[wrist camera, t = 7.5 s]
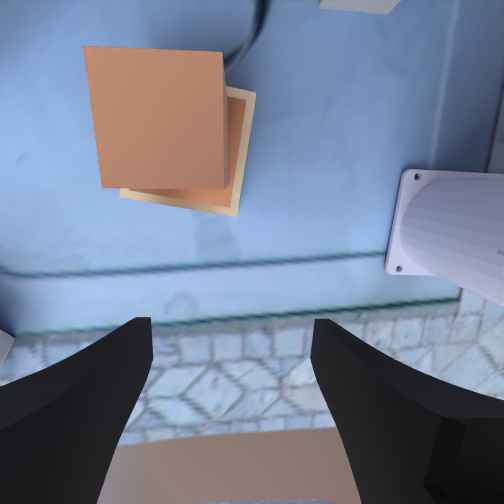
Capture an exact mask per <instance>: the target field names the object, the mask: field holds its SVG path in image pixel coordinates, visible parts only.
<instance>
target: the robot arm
mask: <svg viewBox="0 0 504 504" xmlns="http://www.w3.org/2000/svg"><path fill="white" fill-rule="evenodd" d="M415 174H417V175H418V178H417V179H416V180H415V179H414V176H415ZM398 266H399V269H398V270H396V268H397V267H398ZM385 271H386V272H387V273H389V274H392V275H437V276H439V277H441V278H443V279H445V280H447V281H449V282H451V283H453V284H455V285H458V286H460V287H462V288H464V289H466V290H468V291H470V292H472V293H474V294H476V295H478V296H481V297H483V298H485V299H487V300H489V301H491V302H493V303H495V304H497V305H499V306H502V307H504V174H493V173H475V172H456V171H438V170H419V169H408V170H406V171H404V172H403V174H402V177H401V183H400V188H399V193H398V199H397V204H396V209H395V215H394V220H393V225H392V231H391V236H390V241H389V247H388V252H387V257H386V263H385ZM310 359H311V363H312V367H313V370H314V374H315V377H316V380H317V382H318V385H319V387H320V389H321V392H322V394H323V396H324V399H325V401H326V403H327V405H328V408H329V410H330V412H331V415H332V417H333V419H334V421H335V424H336V426H337V428H338V431H339V433H340V436H341V439H342V441H343V445H344V448H345V450H346V454H347V457H348V460H349V463H350V466H351V469H352V472H353V475H354V479H355V482H356V486H357V489H358V492H359V495H360V499H361V502H362V504H504V400H501V399H497V398H493V397H490V396H486V395H483V394H479V393H476V392H473V391H470V390H467V389H464V388H461V387H458V386H455V385H453V384H450V383H447V382H445V381H442V380H439V379H437V378H435V377H432V376H430V375H427V374H425V373H422V372H420V371H418V370H416V369H413V368H411V367H409V366H407V365H405V364H403V363H401V362H399V361H397V360H395V359H393V358H391V357H389V356H387V355H386V354H384V353H382V352H381V351H379V350H377V349H375V348H374V347H372V346H370V345H369V344H367V343H365V342H364V341H362V340H361V339H359V338H358V337H356V336H355V335H353V334H352V333H350V332H349V331H347V330H346V329H344V328H343V327H341V326H339V325H338V324H336V323H335V322H333V321H331V320H330V319H315V323H314V331H313V339H312V347H311V356H310ZM152 361H153V346H152V329H151V317H136V318H134V319H132V320H130V321H128V322H127V323H125V324H124V325H122V326H120V327H119V328H117V329H116V330H114V331H113V332H111V333H109V334H108V335H106V336H105V337H103V338H101V339H100V340H98V341H96V342H95V343H93V344H91V345H89V346H88V347H86V348H84V349H82V350H81V351H79V352H77V353H75V354H74V355H72V356H70V357H68V358H66V359H64V360H62V361H60V362H58V363H56V364H53V365H51V366H49V367H47V368H45V369H43V370H41V371H38V372H36V373H33V374H31V375H28V376H26V377H23V378H21V379H18V380H16V381H14V382H11V383H9V384H6V385H3V386H0V504H97V500H98V498H99V495H100V492H101V489H102V486H103V483H104V480H105V477H106V474H107V471H108V468H109V466H110V462H111V460H112V457H113V454H114V452H115V449H116V446H117V444H118V441H119V439H120V437H121V434H122V432H123V430H124V428H125V426H126V423H127V421H128V419H129V417H130V415H131V413H132V411H133V408H134V406H135V404H136V402H137V400H138V398H139V396H140V393H141V391H142V389H143V387H144V385H145V382H146V380H147V377H148V374H149V371H150V368H151V364H152ZM197 504H334V503H332V502H328V501H321V500H315V499H289V500H288V499H287V500H266V501H265V500H264V501H244V502H219V503H197Z"/></svg>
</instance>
